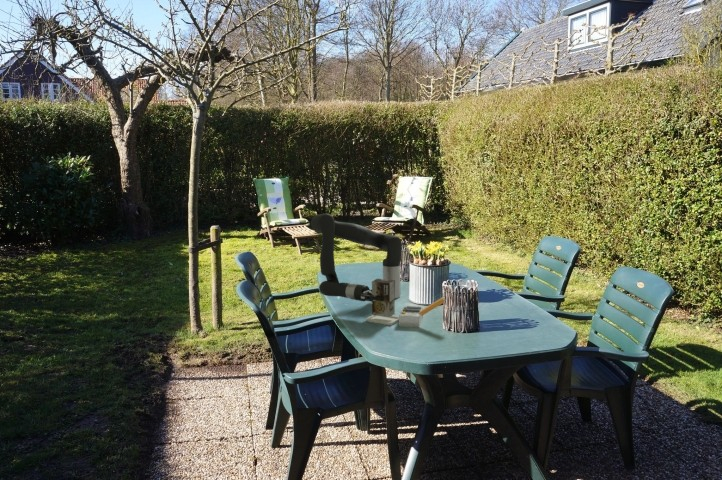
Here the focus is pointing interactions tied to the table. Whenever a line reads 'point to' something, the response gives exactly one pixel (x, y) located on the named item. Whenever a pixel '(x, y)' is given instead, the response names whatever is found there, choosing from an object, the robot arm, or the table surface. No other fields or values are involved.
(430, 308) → the lever
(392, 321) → the white shallow tray
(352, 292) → the robot arm
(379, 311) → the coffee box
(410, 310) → the silver box
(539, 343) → the table surface
